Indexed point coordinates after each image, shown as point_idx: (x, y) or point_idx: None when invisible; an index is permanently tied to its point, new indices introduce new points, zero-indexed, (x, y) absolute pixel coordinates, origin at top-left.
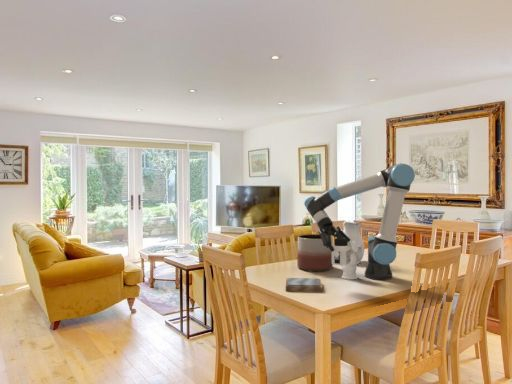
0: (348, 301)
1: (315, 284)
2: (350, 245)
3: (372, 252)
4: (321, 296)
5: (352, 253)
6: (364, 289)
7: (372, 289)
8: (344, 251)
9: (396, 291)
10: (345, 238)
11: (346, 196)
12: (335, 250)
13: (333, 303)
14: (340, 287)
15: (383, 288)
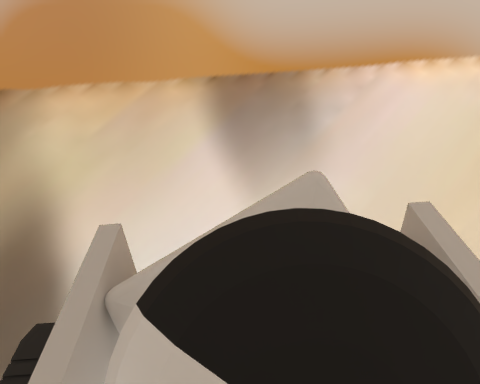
0: (380, 93)
1: None
2: (56, 325)
3: None
4: (453, 223)
5: (128, 251)
6: (156, 204)
7: (119, 182)
8: (332, 192)
9: (49, 94)
10: (187, 336)
11: None
12: (471, 267)
13: (464, 104)
14: None
15: (54, 166)
